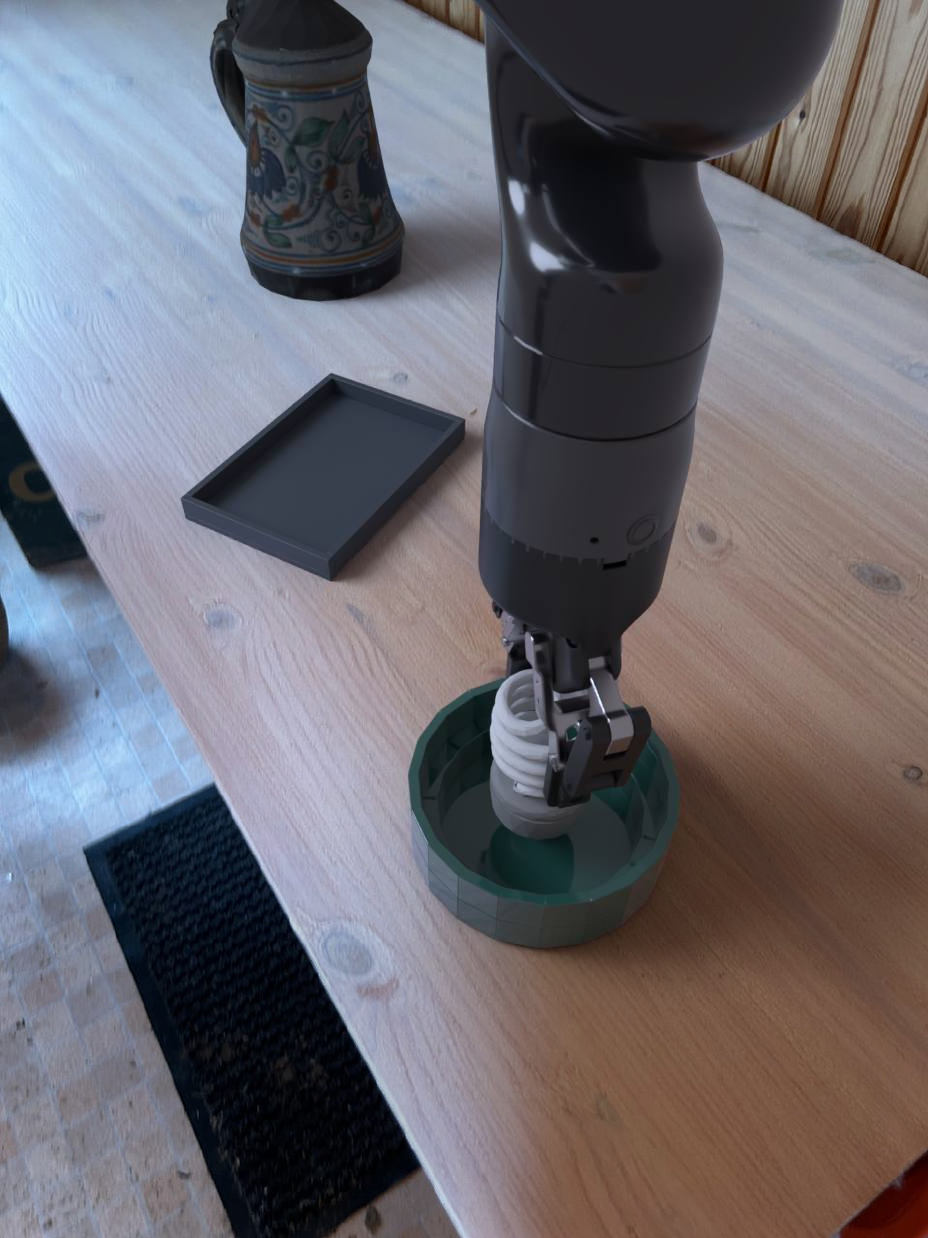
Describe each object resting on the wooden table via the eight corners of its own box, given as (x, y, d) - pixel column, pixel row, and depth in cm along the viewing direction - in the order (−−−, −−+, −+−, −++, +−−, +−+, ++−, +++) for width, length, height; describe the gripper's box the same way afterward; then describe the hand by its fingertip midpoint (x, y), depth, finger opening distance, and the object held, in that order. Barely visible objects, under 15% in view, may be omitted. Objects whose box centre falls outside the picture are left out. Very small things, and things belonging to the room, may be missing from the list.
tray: (330, 581, 68) (328, 560, 66) (185, 518, 72) (179, 497, 70) (465, 439, 79) (465, 418, 78) (332, 392, 83) (330, 372, 82)
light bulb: (555, 888, 51) (578, 758, 43) (465, 838, 53) (470, 704, 44) (601, 810, 55) (632, 675, 46) (515, 766, 57) (529, 628, 48)
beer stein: (382, 311, 93) (366, 15, 74) (192, 289, 95) (131, -3, 77) (422, 234, 104) (416, -40, 85) (250, 216, 106) (209, -54, 88)
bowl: (601, 1000, 48) (613, 958, 44) (362, 870, 52) (355, 822, 49) (700, 789, 56) (717, 739, 53) (487, 693, 61) (489, 641, 57)
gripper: (436, 391, 40) (437, 656, 52) (548, 641, 31) (517, 892, 43) (605, 368, 42) (567, 631, 54) (760, 599, 32) (671, 853, 45)
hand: (545, 746), depth 48 cm, fingers closed on light bulb, 5 cm apart
